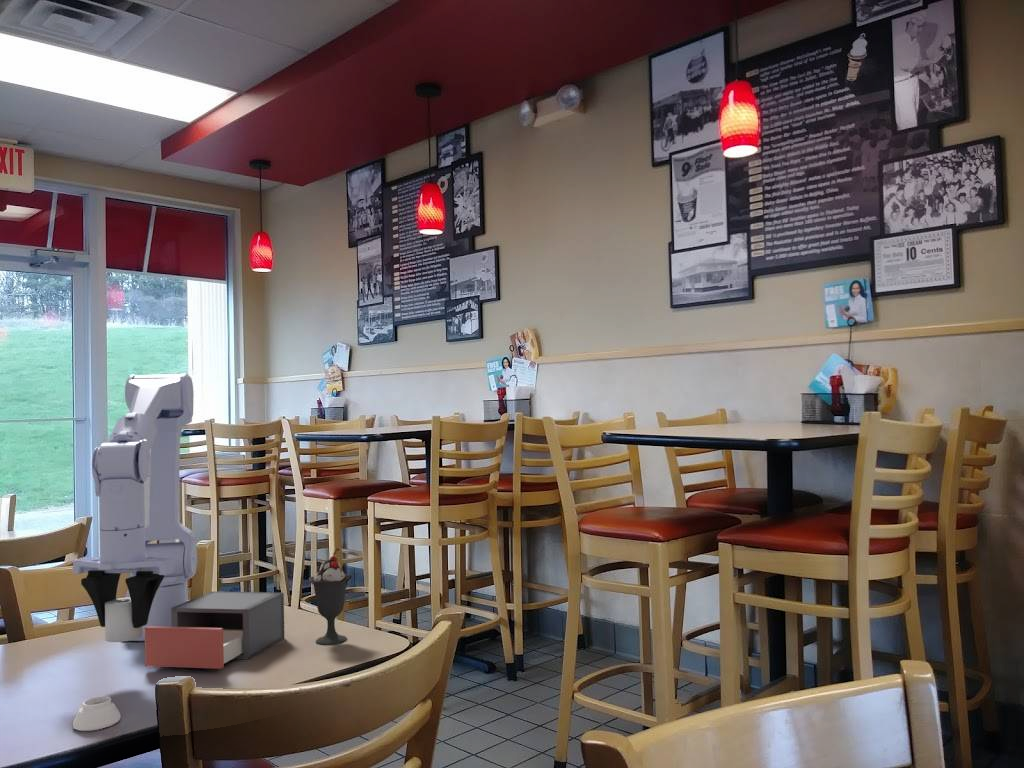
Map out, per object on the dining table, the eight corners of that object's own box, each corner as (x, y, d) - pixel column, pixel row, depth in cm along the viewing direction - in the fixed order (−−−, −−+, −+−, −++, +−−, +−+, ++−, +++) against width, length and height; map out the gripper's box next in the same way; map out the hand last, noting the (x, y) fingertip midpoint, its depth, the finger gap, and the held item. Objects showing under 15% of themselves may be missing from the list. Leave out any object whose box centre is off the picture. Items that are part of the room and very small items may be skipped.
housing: (172, 656, 122) (171, 607, 122) (212, 636, 133) (211, 591, 133) (249, 659, 120) (248, 609, 120) (284, 638, 130) (283, 592, 131)
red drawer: (145, 665, 115) (144, 627, 115) (189, 644, 126) (188, 609, 126) (220, 668, 113) (220, 629, 113) (258, 646, 123) (258, 610, 123)
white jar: (121, 727, 95) (118, 714, 99) (121, 702, 95) (117, 690, 99) (74, 737, 92) (72, 723, 96) (73, 711, 92) (72, 698, 97)
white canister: (97, 641, 109) (97, 603, 109) (120, 632, 114) (119, 595, 114) (127, 642, 108) (126, 604, 108) (149, 632, 113) (148, 596, 113)
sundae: (347, 646, 125) (345, 549, 125) (305, 647, 125) (303, 551, 125) (356, 634, 131) (354, 542, 132) (316, 635, 132) (314, 544, 132)
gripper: (55, 532, 109) (57, 632, 108) (150, 532, 106) (151, 635, 106) (92, 524, 116) (93, 618, 115) (182, 524, 113) (183, 620, 113)
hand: (123, 625), depth 111 cm, fingers closed on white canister, 5 cm apart
